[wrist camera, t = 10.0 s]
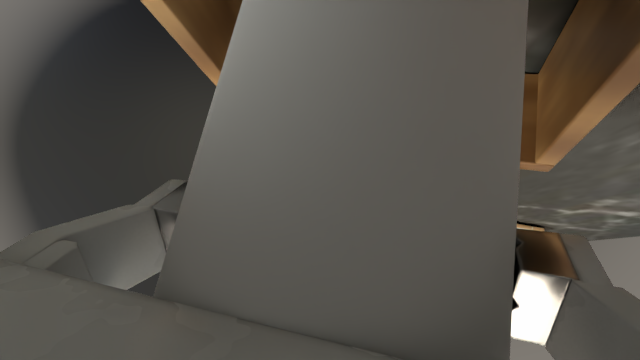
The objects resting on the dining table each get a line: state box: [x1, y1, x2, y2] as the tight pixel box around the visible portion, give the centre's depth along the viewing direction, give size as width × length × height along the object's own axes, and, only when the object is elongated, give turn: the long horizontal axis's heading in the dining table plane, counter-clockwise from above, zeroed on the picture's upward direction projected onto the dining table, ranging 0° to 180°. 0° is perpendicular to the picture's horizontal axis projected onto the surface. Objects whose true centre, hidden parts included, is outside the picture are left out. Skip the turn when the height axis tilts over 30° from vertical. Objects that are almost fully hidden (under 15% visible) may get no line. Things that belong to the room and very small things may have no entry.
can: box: [153, 0, 529, 360], centre depth 9 cm, size 8×8×12 cm
